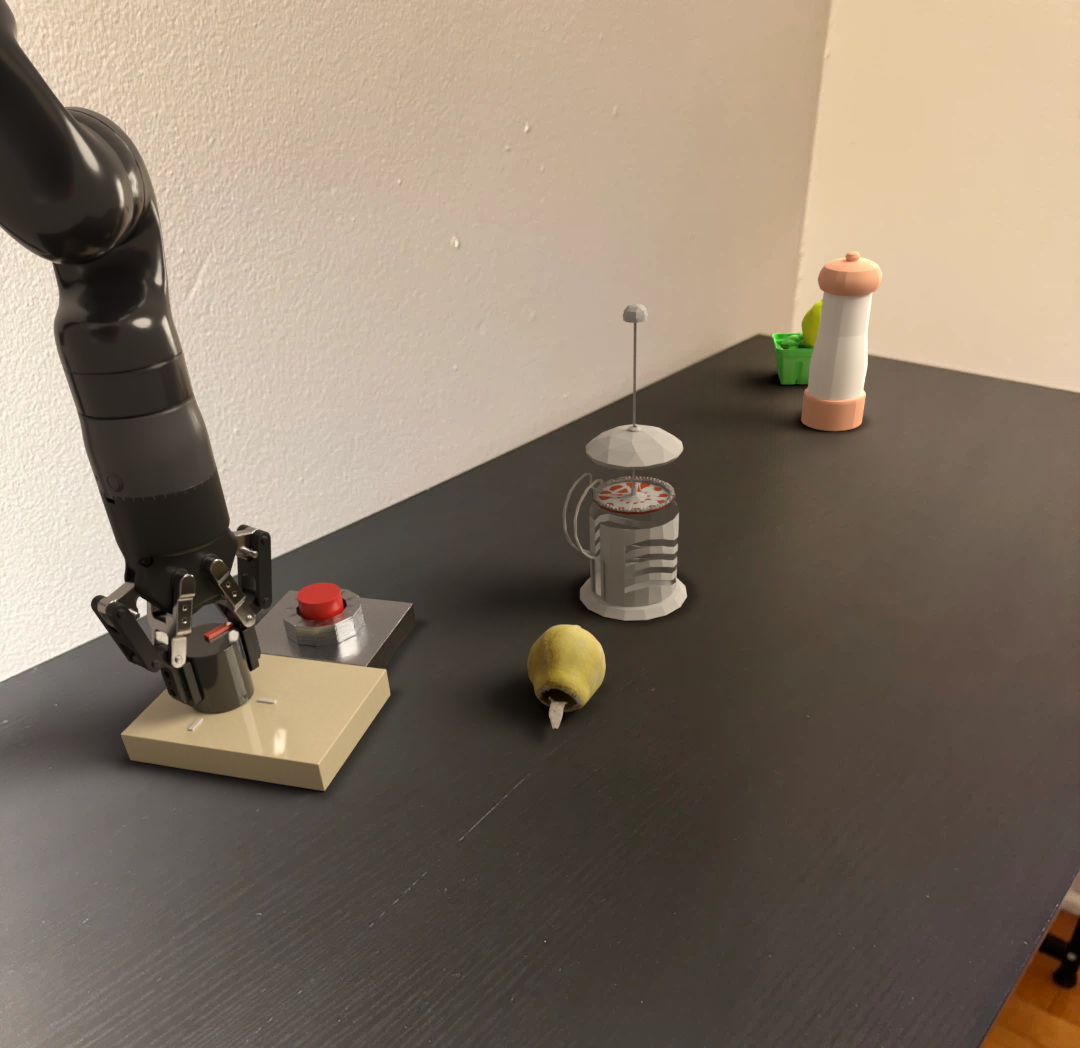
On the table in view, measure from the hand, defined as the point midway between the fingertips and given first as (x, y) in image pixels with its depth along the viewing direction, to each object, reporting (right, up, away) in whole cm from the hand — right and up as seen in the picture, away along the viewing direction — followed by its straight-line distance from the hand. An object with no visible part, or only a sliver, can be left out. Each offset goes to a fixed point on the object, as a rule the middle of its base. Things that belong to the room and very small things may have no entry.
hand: (219, 683), depth 74 cm
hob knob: (0, -1, +1) cm, 1 cm away
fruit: (+26, -1, +2) cm, 27 cm away
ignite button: (+6, +6, +8) cm, 12 cm away
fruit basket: (+61, +43, +59) cm, 95 cm away
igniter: (+6, +4, +10) cm, 12 cm away
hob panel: (+3, -3, +2) cm, 5 cm away
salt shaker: (+60, +34, +47) cm, 84 cm away
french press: (+32, +8, +15) cm, 36 cm away
